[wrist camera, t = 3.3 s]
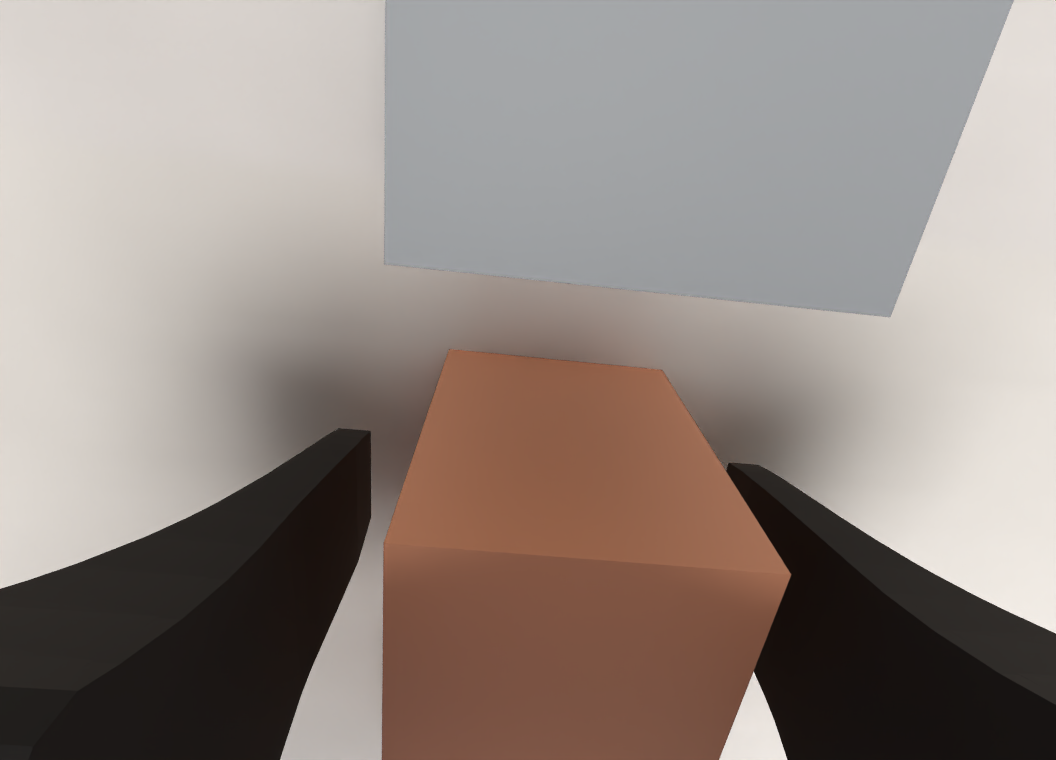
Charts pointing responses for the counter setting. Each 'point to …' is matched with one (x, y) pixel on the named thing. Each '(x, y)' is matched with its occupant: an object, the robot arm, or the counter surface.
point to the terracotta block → (568, 572)
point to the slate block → (678, 141)
